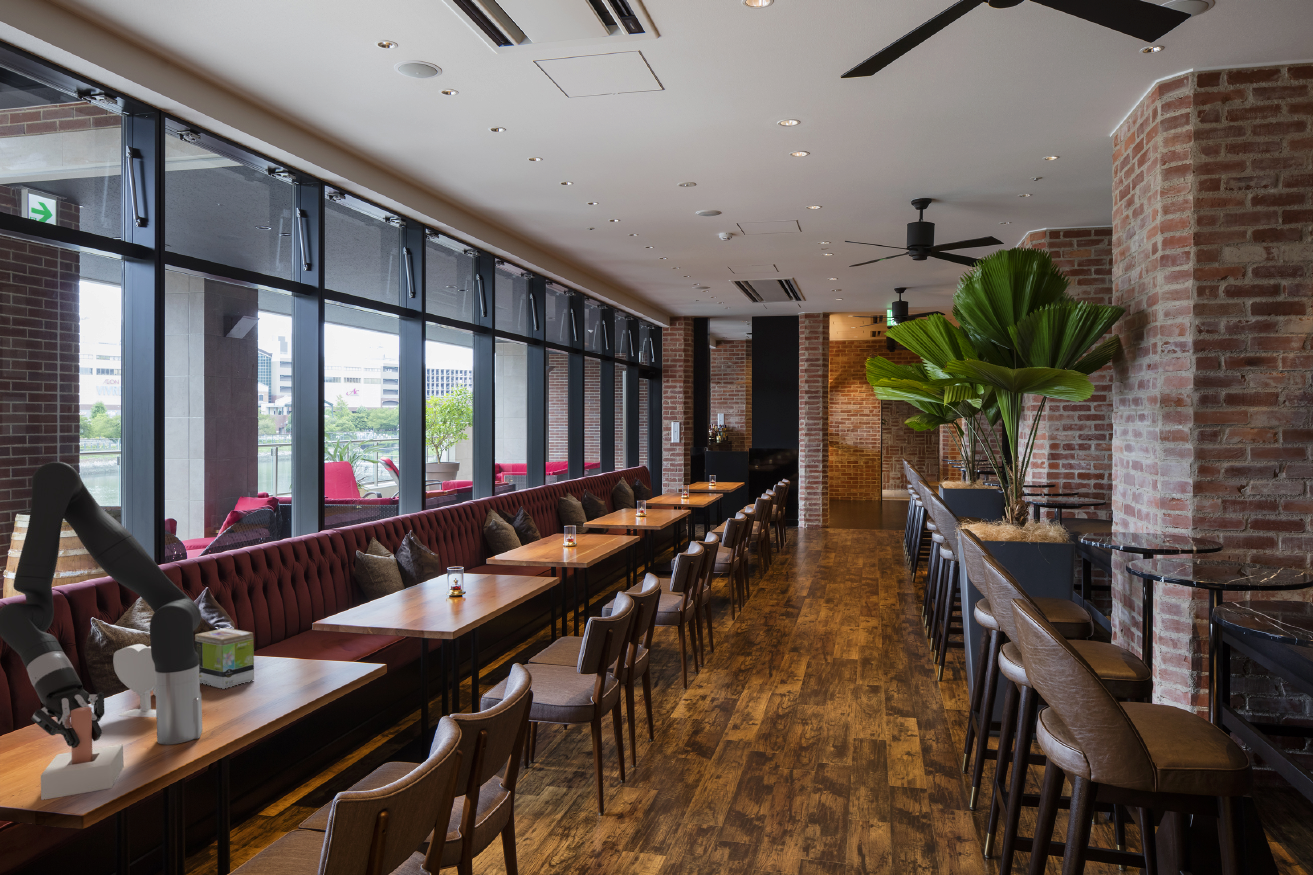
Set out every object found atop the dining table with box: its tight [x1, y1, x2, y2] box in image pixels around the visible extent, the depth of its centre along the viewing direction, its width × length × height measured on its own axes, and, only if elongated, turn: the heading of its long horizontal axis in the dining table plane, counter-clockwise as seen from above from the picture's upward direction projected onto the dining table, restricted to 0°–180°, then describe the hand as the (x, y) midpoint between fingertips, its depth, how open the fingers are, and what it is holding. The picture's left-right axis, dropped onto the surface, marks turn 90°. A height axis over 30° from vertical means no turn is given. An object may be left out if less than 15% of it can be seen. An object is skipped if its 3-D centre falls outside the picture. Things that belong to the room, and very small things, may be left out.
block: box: [40, 743, 124, 801], centre depth 170 cm, size 12×12×5 cm
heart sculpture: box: [112, 643, 156, 718], centre depth 213 cm, size 16×5×18 cm, turn 81°
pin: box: [70, 706, 93, 765], centre depth 170 cm, size 4×4×12 cm
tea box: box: [194, 627, 255, 690], centre depth 239 cm, size 15×10×15 cm, turn 58°
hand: (87, 741), depth 169 cm, fingers closed on pin, 3 cm apart
